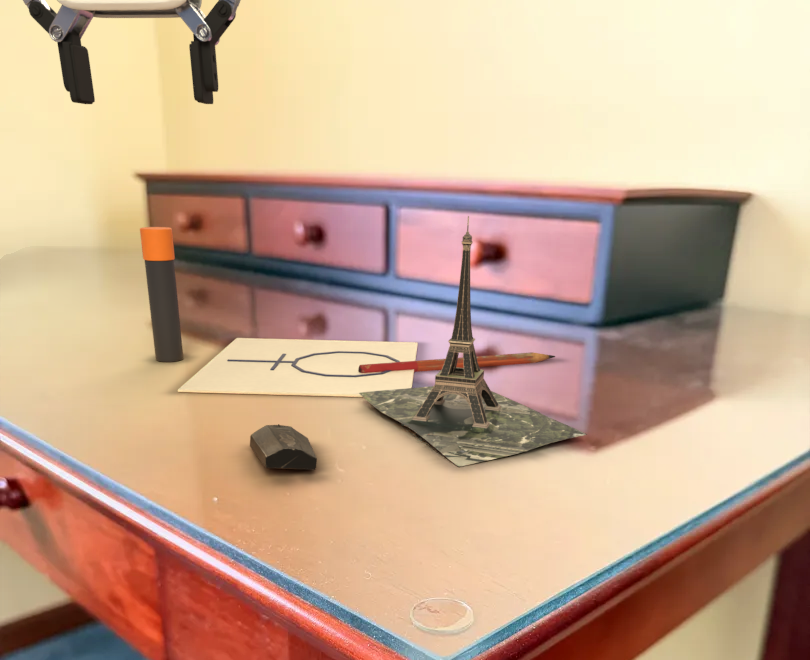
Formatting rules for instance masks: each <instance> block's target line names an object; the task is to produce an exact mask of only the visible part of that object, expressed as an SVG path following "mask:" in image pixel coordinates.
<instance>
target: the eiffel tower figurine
mask: <svg viewBox="0 0 810 660" xmlns="http://www.w3.org/2000/svg"><path fill="white" fill-rule="evenodd" d="M469 223H470V216H469V215H467V224H466V225H467V226H466V232H465V234H464V235H463V236H462V241H461V245H462V255H461V265H460V266H461V267H460V276H459V284H458V293H457V302H456V310H455V317H454V323H453V329H452V333H451V337H450V339H449V340H448V341H447V342H448V344H449V346H448V350H447V353H446V356H445V358H444V359H445V362H444V365H443V368H442V370H439V371H438V372H437V373H436V374H435V376H434V385H430V386H420V387H412V388H407V389H395V390H382V391H371V392H362V393H359V394H360V395H361V396H362V397H361V398H363V399H364V400H365V401H367V402H368V403H369V404H370V405H371V406H373V408H375V409H377V410H378V411H379V412H380V413H382V414H383V415H385V416H387V417H389V418H391V419H393V420H395V421H396V422H399V423H400V424H401V427H407V428H409V429H410V430H412V431H413V432H414V433H416V434H417V435H418V436H420V437H421V438H422V439H424V440H425V441H426V442H428V444H430V445H431V446H432V447H433V448H434V449H436V450H437V451H438V452H439V453H440V454H441V455H442V456H444V457H445V458H447V460H449V461H450V462H452V464H453V465H455V466H456V467H458V468H460V467H465V466H469V465H474V464H479V463H482V462H487V461H491V460H496V459H500V458H504V457H508V456H513V455H517V454H521V453H524V452H529V451H531V450H534V449H538V448H541V447H543V446H547V445H549V444H552V443H557V442H560V441H564V440H569V439H573V438H577V437H583V436H587V435H588V434H587V433H586V432H583V431H581V430H579V429H577V428H575V427H573V426H570V425H568V424H566V423H563V422H561V421H558V420H556V419H554V418H552V417H550V416H547V415H545V414H543V413H541V412H539V411H537V410H535V409H533V408H530V407H529V406H526V405H524V404H522V403H520V402H518V401H516V400H513V399H511V398H508V397H506V396H504V395H502V394H500V393H497V392H495V391H492V390H491V389H490V387H489V385H488V383H487V381H486V380H485V378H484V377H485V369H480V368H481V367H479V365H478V362H477V357H476V356H477V353H476V348H475V343H474V342H475V341H476V338H475V337H474V336H473V329H472V312H471V311H472V310H471V308H472V307H471V249H472V244H473V243H474V242H473V236H472V235H471V234H470V231H469V226H470V225H469ZM459 354H462V357H463V366H464V368H458V367H456V366H457V361H458V358H459Z"/></svg>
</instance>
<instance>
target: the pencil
mask: <svg viewBox="0 0 810 660" xmlns="http://www.w3.org/2000/svg"><path fill="white" fill-rule="evenodd" d="M476 357H477V362H478V365H479V368H485V367H499V366H511V365H512V366H513V365H526V364H535V363H539V362H542V361H546V360H549V359H553V358H556V355H551V354H546V353H539V352H534V351H533V352H518V353H504V354H491V355H489V354H488V355H476ZM445 359H446V358H435V359H421V360H416V361H406V362H392V363H378V364H365V365H360V366H359V369H358V371H359V372H360V373H372V372H383V371H386V370H391V371H400V370H413V369H414V373H418V372H431V371H432V372H433V371H441V370H442V368H443V365H444V362H445ZM456 367H458V368H464V366H463V356H461V357H458V361H457V366H456Z"/></svg>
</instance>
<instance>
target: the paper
mask: <svg viewBox="0 0 810 660" xmlns="http://www.w3.org/2000/svg"><path fill="white" fill-rule="evenodd" d="M418 345H419V342H417V341H416V342H415V341H381V340H379V341H378V340H377V341H376V340H339V339H338V340H337V339H335V340H334V339H302V338H301V339H300V338H299V339H298V338H297V339H295V338H261V337H260V338H257V337H236V338H235V339H234V340H232V342H230V343H229V344H228V345H226V347H225V348H223V349H222V350H221V351H220V352H219V353H218V354H216V355H215V356H214V357H213V358H212V359H211V360H209V362H207V363H206V364H205V365H204V366H202V367H201V368H200V369H199V370H198V371H197V372H196V373H195V374H194V375H192V376H191V377H190V378H189V379H188V380H187V381H186V382H185V383H184V384H182V385H181V386H180V387H179V388H178V389H177V393H198V394H199V393H202V394H203V393H204V394H205V393H206V394H237V395H241V394H242V395H272V396H273V395H275V396H277V395H278V396H312V397H313V396H314V397H349V398H351V397H352V398H363V397H362V396H361V395H360V394H359V393H362V392H371V391H382V390H395V389H407V388H413V382H414V376H415V372H414V369H413V370H400V371H391V370H386V371H383V372H372V373H360V372H359V371H358V369H359V366H360V365H365V364H378V363H392V362H406V361H417V352H418V347H419V346H418Z"/></svg>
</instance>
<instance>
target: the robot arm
mask: <svg viewBox="0 0 810 660" xmlns="http://www.w3.org/2000/svg"><path fill="white" fill-rule="evenodd" d="M22 1H23V3H24V5H25V6H26V7H27V9H28V11H29V12H28V13H29V16H31V18H32V19H33V20H34V21H35V22H36V23H37V24H38V25H39V26H40V27H41V28H42V29H43V30H44V31H45V32H46V33H47V34H48V35H49V38H51V40H52V41H54V42H56V43H57V49H58V56H59V62H60V69H61V76H62V82H63V86H64V89H65V90H66V92H67V93H69V97H70V100H71V102H72V103H75V104H81V105H93V104H94V103H95V102H96V101H95V100H96V99H95V91H94V83H93V77H92V69H91V62H90V55H89V50H88V48H87V47H86V46H84V45H82V40H81V39H82V38H83V36H84V34H85V32H86V31H87V29H88V28H89V25H90V23H91V22H92V20H93V18H99V19H174V18H175V19H178V18H180V19H181V20H182V21H183V23H184V24H185V25H186V26H187V27H188V28H189V30H190V31H191V32H192V35H193V36H192V37H193V40H191V41H190V43H189V48H188V49H189V59H190V69H191V80H192V89H193V100H194V101H196V102H197V103H200V104H204V105H214V93H217V92H218V91H219V76H218V62H217V52H216V46H217V45H219V43H220V41H221V38H222V36H223V35H224V34H225V32H226V30H228V29H229V27H230V26H231V25H232V23H233V22H234V20H235V19H236V16H237V10H238V7H239V6H240V4H241V1H242V0H218V1H217V2H216V3H215V5H214V6H213V7H212V8H211V9H210V11H208V13H207V15H206V14H205V13H204V12H203V11H202V9H201V8H202V2H203V0H56V1H57V2H58V3H59V4H61V6H60V7H59V9H58V11H57V12H56V11H55V10H54V9H53V8H52V7H51V6H50V5H49V4H48V2H47V1H46V0H22Z"/></svg>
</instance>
